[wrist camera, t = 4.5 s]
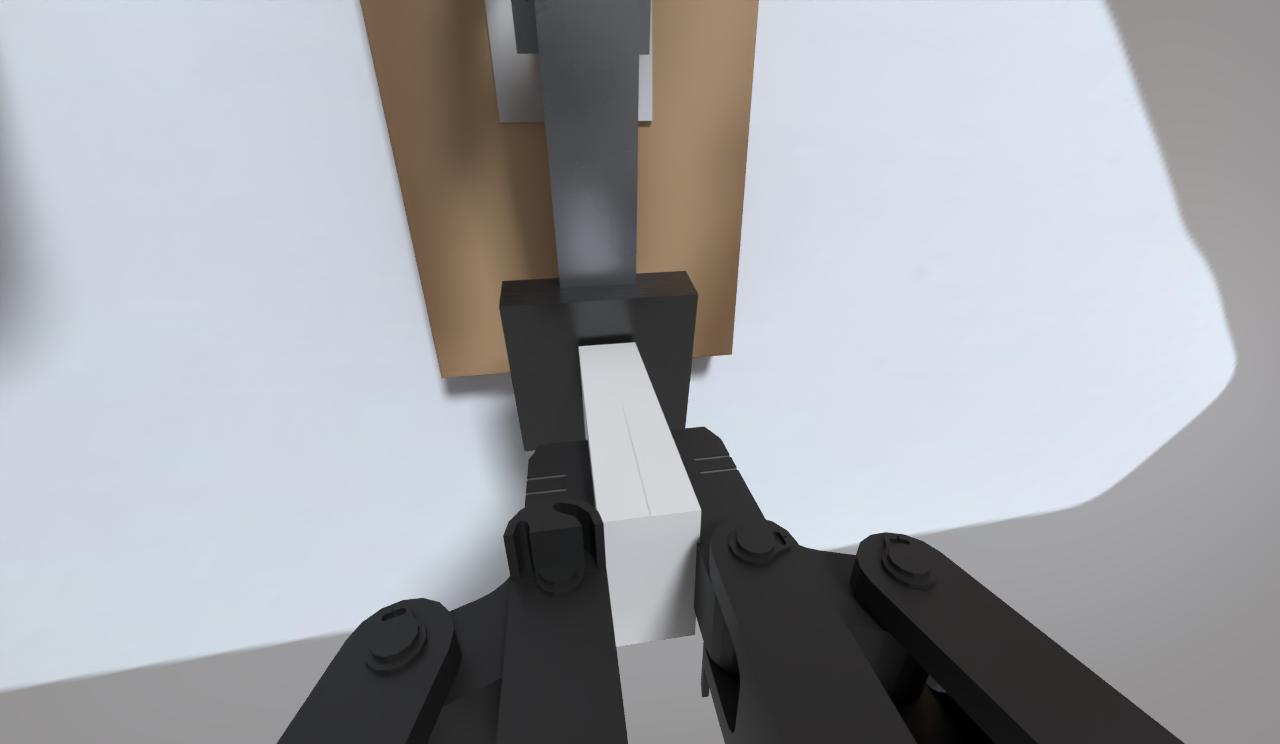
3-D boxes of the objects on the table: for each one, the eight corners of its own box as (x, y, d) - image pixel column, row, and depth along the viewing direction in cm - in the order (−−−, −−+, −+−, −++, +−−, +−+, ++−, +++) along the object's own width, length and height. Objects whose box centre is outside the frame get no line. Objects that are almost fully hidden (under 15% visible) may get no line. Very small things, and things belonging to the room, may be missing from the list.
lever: (527, 366, 18) (524, 451, 15) (408, -427, 8) (311, -740, 5) (658, 355, 19) (684, 434, 16) (694, -387, 9) (790, -637, 5)
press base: (451, 357, 21) (365, 548, 11) (328, -248, 13) (-313, -1346, 3) (717, 337, 23) (842, 489, 13) (751, -211, 15) (1135, -876, 5)
